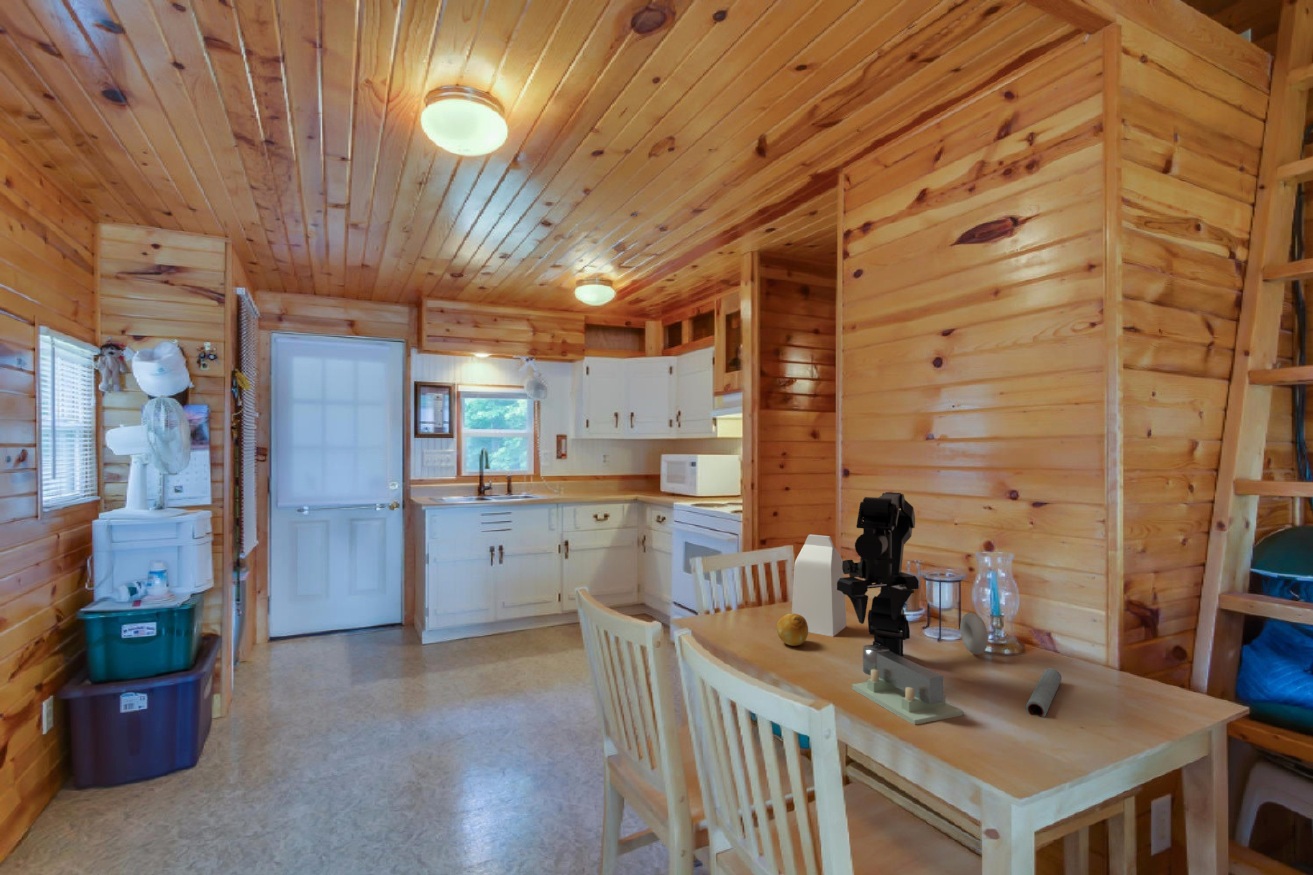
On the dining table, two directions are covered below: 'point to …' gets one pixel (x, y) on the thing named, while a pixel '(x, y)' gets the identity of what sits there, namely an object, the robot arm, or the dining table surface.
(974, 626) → the donut
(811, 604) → the milk
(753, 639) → the dining table surface
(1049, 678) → the aluminum foil
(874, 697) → the rack
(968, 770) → the dining table surface
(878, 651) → the long grey rectangular beam
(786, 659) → the dining table surface
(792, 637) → the fruit
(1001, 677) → the dining table surface
